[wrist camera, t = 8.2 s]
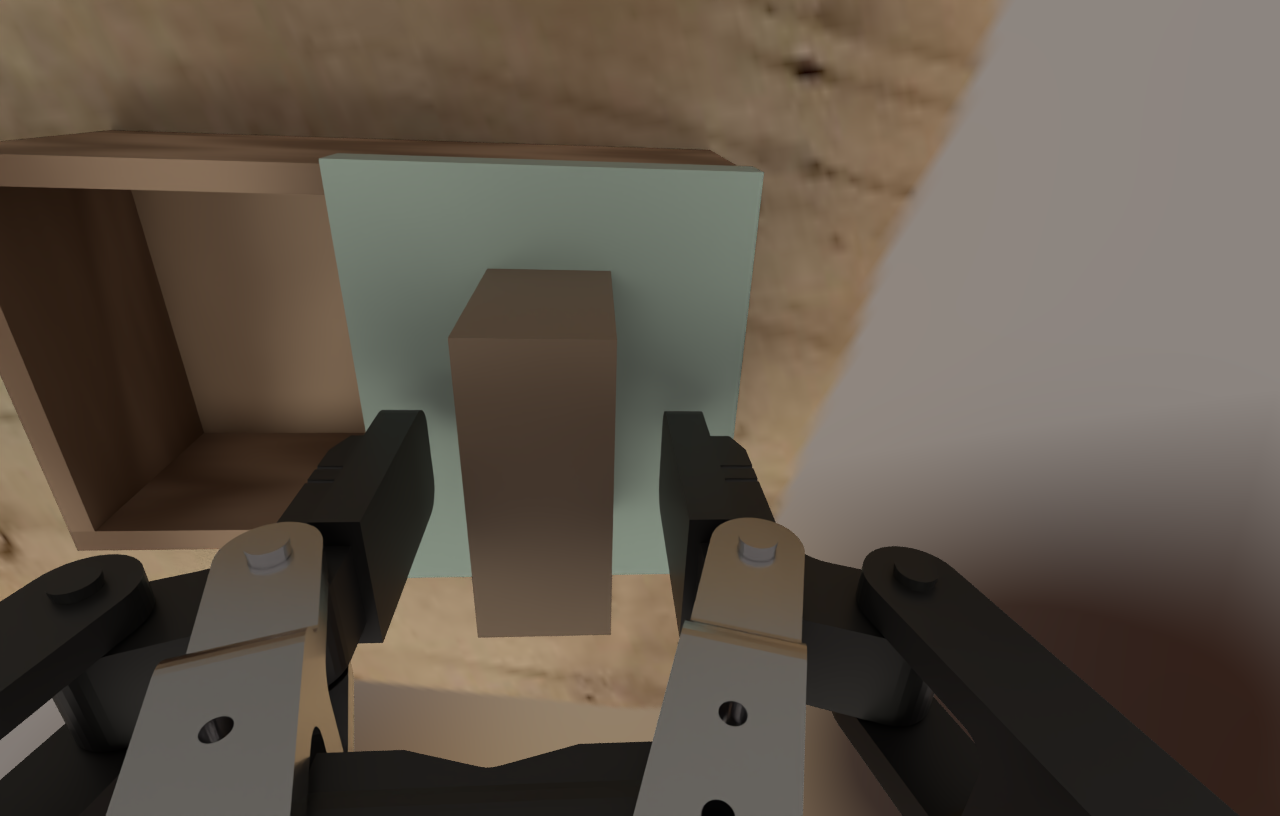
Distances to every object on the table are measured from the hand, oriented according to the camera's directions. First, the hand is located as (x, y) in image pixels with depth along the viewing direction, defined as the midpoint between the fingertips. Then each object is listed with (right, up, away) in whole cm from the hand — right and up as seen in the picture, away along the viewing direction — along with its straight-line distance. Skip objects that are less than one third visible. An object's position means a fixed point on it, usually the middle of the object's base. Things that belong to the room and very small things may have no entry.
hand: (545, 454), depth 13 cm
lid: (0, +1, +3) cm, 3 cm away
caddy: (-5, +4, +8) cm, 10 cm away
